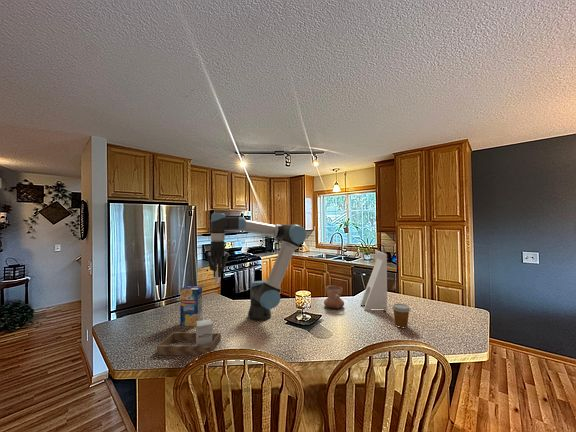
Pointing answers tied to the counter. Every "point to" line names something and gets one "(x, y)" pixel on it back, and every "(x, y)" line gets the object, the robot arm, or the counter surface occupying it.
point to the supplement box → (204, 332)
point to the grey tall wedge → (377, 285)
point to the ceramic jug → (334, 297)
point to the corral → (168, 349)
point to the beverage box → (190, 305)
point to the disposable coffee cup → (401, 314)
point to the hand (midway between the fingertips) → (217, 283)
